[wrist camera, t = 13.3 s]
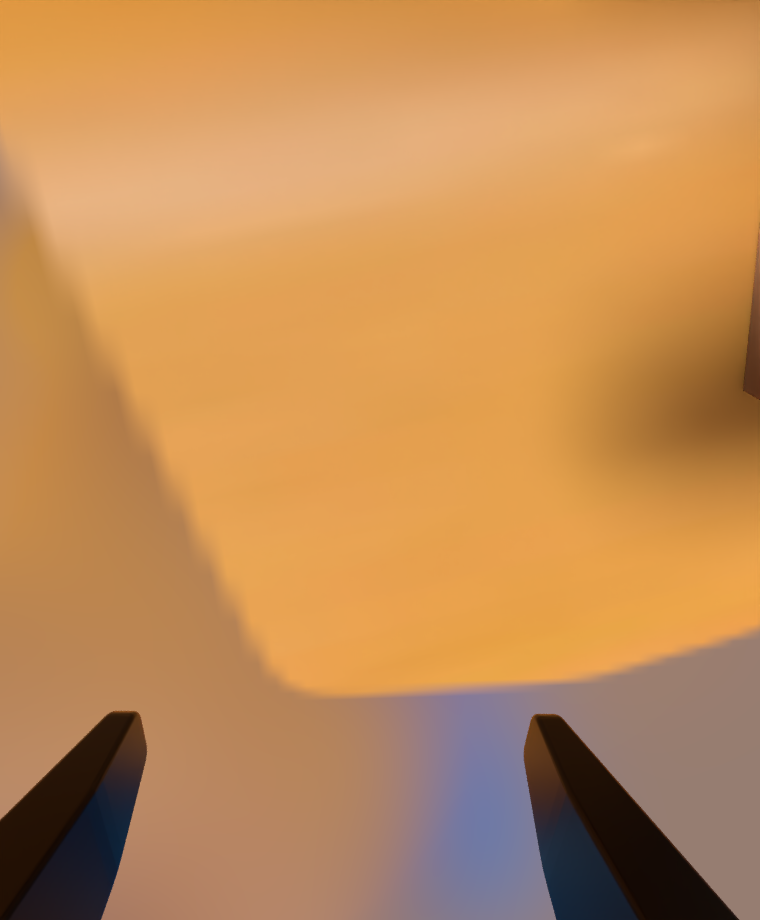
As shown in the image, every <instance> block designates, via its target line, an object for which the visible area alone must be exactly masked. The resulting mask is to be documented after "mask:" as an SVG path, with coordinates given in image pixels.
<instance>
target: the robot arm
mask: <svg viewBox="0 0 760 920" xmlns="http://www.w3.org/2000/svg"><path fill="white" fill-rule="evenodd" d="M146 755H147V745H146V740H145V735H144V730H143V725H142V721H141V717H140V715H139V713H138V712H136V711H113V712H111V713H109V714H107V715H106V716H105V717H104V718H103V719H102V720H101V721H100V722H99V723H98V724H97V725H96V726H95V727H94V728H93V729H92V730H91V731H90V732H89V733H88V734H87V735H86V736H85V737H84V738H83V739H82V740H81V741H80V742H79V743H78V744H77V745H76V746H75V747H74V748H73V749H72V750H71V751H70V752H68V754H66V756H65V757H64V758H63V759H61V760H60V761H59V762H58V763H57V764H56V765H55V766H54V767H53V768H52V769H51V770H50V771H49V772H48V773H47V774H46V775H45V776H44V777H43V778H42V779H41V780H40V781H39V782H38V783H37V784H36V785H35V786H34V787H33V788H32V789H31V790H30V791H29V792H28V793H27V794H26V795H25V796H24V797H23V798H22V799H21V800H20V801H19V802H18V803H17V804H16V805H15V806H14V807H13V808H12V809H11V810H10V811H9V812H8V813H7V814H6V815H5V816H4V817H3V818H2V819H1V820H0V920H101V918H102V915H103V912H104V910H105V907H106V904H107V901H108V898H109V896H110V892H111V890H112V887H113V884H114V881H115V878H116V875H117V871H118V868H119V865H120V861H121V857H122V853H123V850H124V845H125V842H126V837H127V833H128V830H129V825H130V822H131V818H132V813H133V810H134V806H135V801H136V797H137V794H138V789H139V786H140V782H141V778H142V774H143V770H144V766H145V761H146ZM524 763H525V769H526V775H527V781H528V787H529V793H530V799H531V804H532V810H533V816H534V822H535V828H536V833H537V839H538V845H539V850H540V856H541V861H542V867H543V871H544V875H545V879H546V883H547V887H548V891H549V894H550V898H551V902H552V905H553V909H554V913H555V916H556V920H739V919H738V918H737V917H736V916H735V915H734V913H733V912H732V911H731V910H730V909H729V908H728V907H727V905H726V904H725V903H724V902H723V901H722V900H721V899H720V897H719V896H718V895H717V894H716V893H715V892H714V891H713V889H712V888H711V887H710V886H709V885H708V884H707V883H706V882H705V880H704V879H703V878H702V877H701V876H700V875H699V873H698V872H697V871H696V870H695V869H694V868H693V867H692V865H691V864H690V863H689V862H688V861H687V860H686V859H685V857H684V856H683V855H682V854H681V853H680V852H679V851H678V850H677V848H676V847H675V846H674V845H673V844H672V843H671V841H670V840H669V839H668V838H667V837H666V836H665V835H664V834H663V832H662V831H661V830H660V829H659V828H658V827H657V825H656V824H655V823H654V822H653V821H652V820H651V819H650V818H649V816H648V815H647V814H646V813H645V812H644V811H643V810H642V808H641V807H640V806H639V805H638V804H637V803H636V802H635V800H634V799H633V798H632V797H631V796H630V795H629V794H628V792H627V791H626V790H625V789H624V788H623V787H622V786H621V784H620V783H619V782H618V781H617V780H616V779H615V778H614V776H613V775H612V774H611V773H610V772H609V771H608V770H607V768H606V767H605V766H604V765H603V764H602V763H601V762H600V760H599V759H598V758H597V757H596V756H595V755H594V754H593V752H592V751H591V750H590V749H589V748H588V747H587V746H586V744H585V743H584V742H583V741H582V740H581V739H580V738H579V736H578V735H577V734H576V733H575V732H574V731H573V730H572V728H571V727H570V726H569V725H568V724H567V723H566V722H565V720H564V719H563V718H562V717H560V716H559V715H556V714H535V715H534V716H533V717H532V719H531V722H530V726H529V730H528V734H527V738H526V742H525V746H524Z"/></svg>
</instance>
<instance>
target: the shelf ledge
mask: <svg viewBox="0 0 760 920" xmlns="http://www.w3.org/2000/svg"><path fill="white" fill-rule="evenodd" d="M743 391H745V392H747V393H749V394H750V395H752V396H754V397H756V398H757V399H759V400H760V228H759V238H758V248H757V258H756V268H755V278H754V288H753V298H752V308H751V318H750V328H749V338H748V348H747V358H746V368H745V378H744V388H743Z"/></svg>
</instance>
